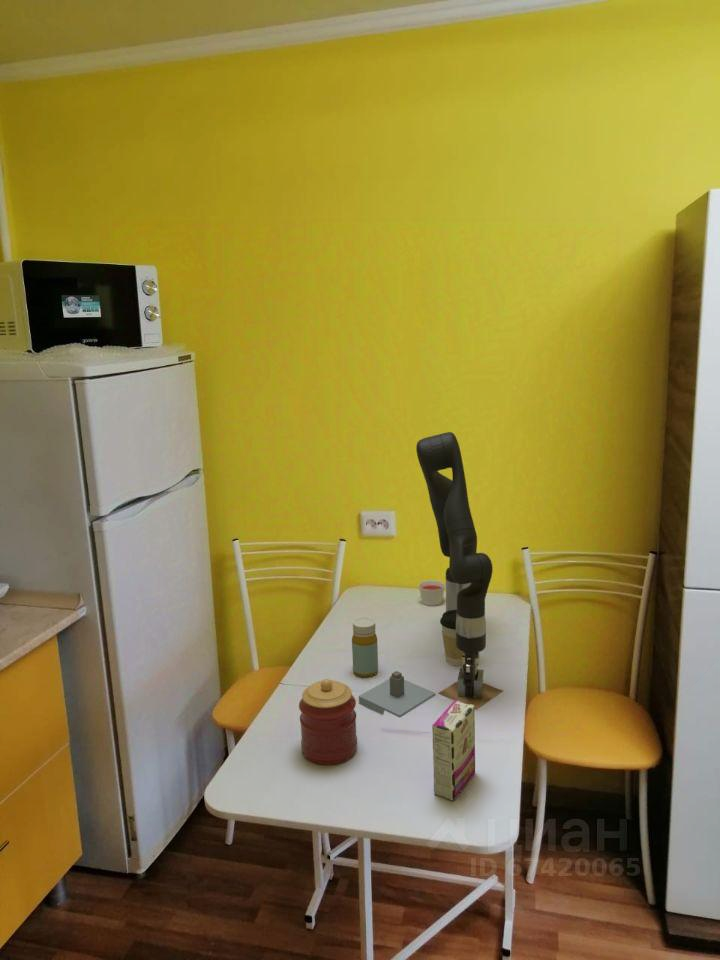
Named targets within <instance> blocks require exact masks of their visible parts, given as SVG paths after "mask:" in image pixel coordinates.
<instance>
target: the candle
mask: <svg viewBox="0 0 720 960" xmlns="http://www.w3.org/2000/svg"><path fill="white" fill-rule="evenodd" d="M418 588H419V594H420V599H421V603H422V604H423V605H425V606H432V607H434V606H439V605H441V604H442V602H443V599H444V594H445V590H446V583H444V582H442V581H440V580H434V579H433V580H432V579H431V580H430V579H429V580H424V581H421V582H419V583H418Z"/></svg>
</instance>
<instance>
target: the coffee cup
mask: <svg viewBox="0 0 720 960" xmlns="http://www.w3.org/2000/svg"><path fill="white" fill-rule="evenodd" d="M456 617H457V610H450V611H447V612H446V611H444V612H443V613H442V615H441V617H440V621H439V623H440V625H441V628H442V629H441V630H442V631H441V632H442V633H441V634H442V640H443V648H444V655H445V659H446V663H448V664H449V665H451V666H455V667H458V666H459V667H461V666H462V667H463V662H462V656H463V651H461V650H459V649H458V648H457V647H456Z"/></svg>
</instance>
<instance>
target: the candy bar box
mask: <svg viewBox="0 0 720 960" xmlns="http://www.w3.org/2000/svg"><path fill="white" fill-rule="evenodd" d="M452 701H453V702H452V703H450V705H449V706H448V707H447V708H446V709H445V710H444V712H443V713H442V714H441V715H440V716H439V717H438V718H437V719H436V720H435V721H434V722H433V724H432V725H431V727H432V729H431V730H432V754H433V755H432V757H433V791H434V795H436V796H438V797H441V798H445V799H448V800H449V801H452V800H455V801H456V799H457V798H458V797H457V795H458V794H459V793H460V794H461V792H462V791H463V790H464V788H465V787H466V785H467V784H468V783H469V781H470V780H471V779H472V777H473V776H474V775H475V773H476V742H475V741H476V739H475V738H476V737H475V736H476V734H475V733H476V729H475V725H476V724H475V723H476V722H475V709H474V705H472V704H468V703H464V702H460V701H457V700H452ZM462 789H463V790H462ZM461 790H462V791H461ZM460 791H461V792H460ZM460 794H459V795H460ZM459 795H458V796H459ZM456 797H457V798H456ZM455 798H456V799H455Z"/></svg>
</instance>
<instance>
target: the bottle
mask: <svg viewBox="0 0 720 960" xmlns="http://www.w3.org/2000/svg"><path fill="white" fill-rule="evenodd" d="M352 630H353V631H352V632H353V634H352V637H351V646H352V647H351V649H352V650H351V651H352V653H351V654H352V671H353V673H354V674H355V675H356V676H357V677H360V678H372V677H373V676H375V675H377V673H378V672H379V655H378V654H379V653H378V652H379V651H378V650H379V649H378V648H379V647H378V636H377V633H376V621H375V620H374V619H373V618H369V617H360V618H357V619H354V620H353V622H352Z"/></svg>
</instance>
